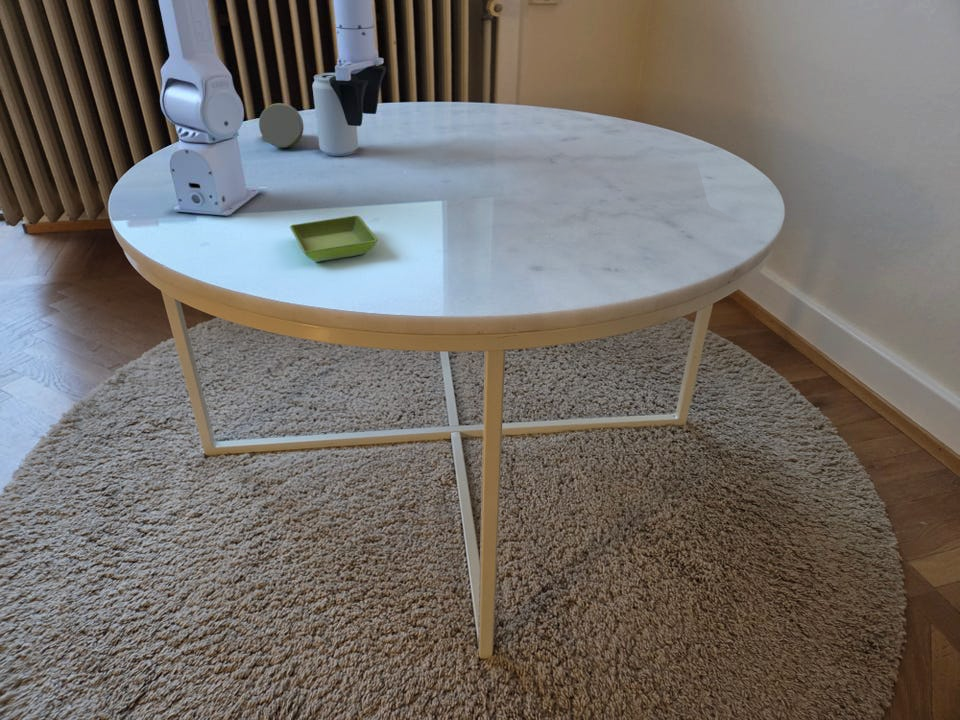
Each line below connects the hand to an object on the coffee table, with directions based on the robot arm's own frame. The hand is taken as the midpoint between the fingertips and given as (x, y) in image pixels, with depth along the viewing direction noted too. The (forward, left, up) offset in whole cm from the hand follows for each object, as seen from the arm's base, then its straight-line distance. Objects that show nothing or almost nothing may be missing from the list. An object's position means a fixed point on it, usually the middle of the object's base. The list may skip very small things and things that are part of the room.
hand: (362, 119), depth 110 cm
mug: (+3, +16, -6) cm, 17 cm away
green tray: (-37, -8, -6) cm, 38 cm away
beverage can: (0, +4, -6) cm, 7 cm away
